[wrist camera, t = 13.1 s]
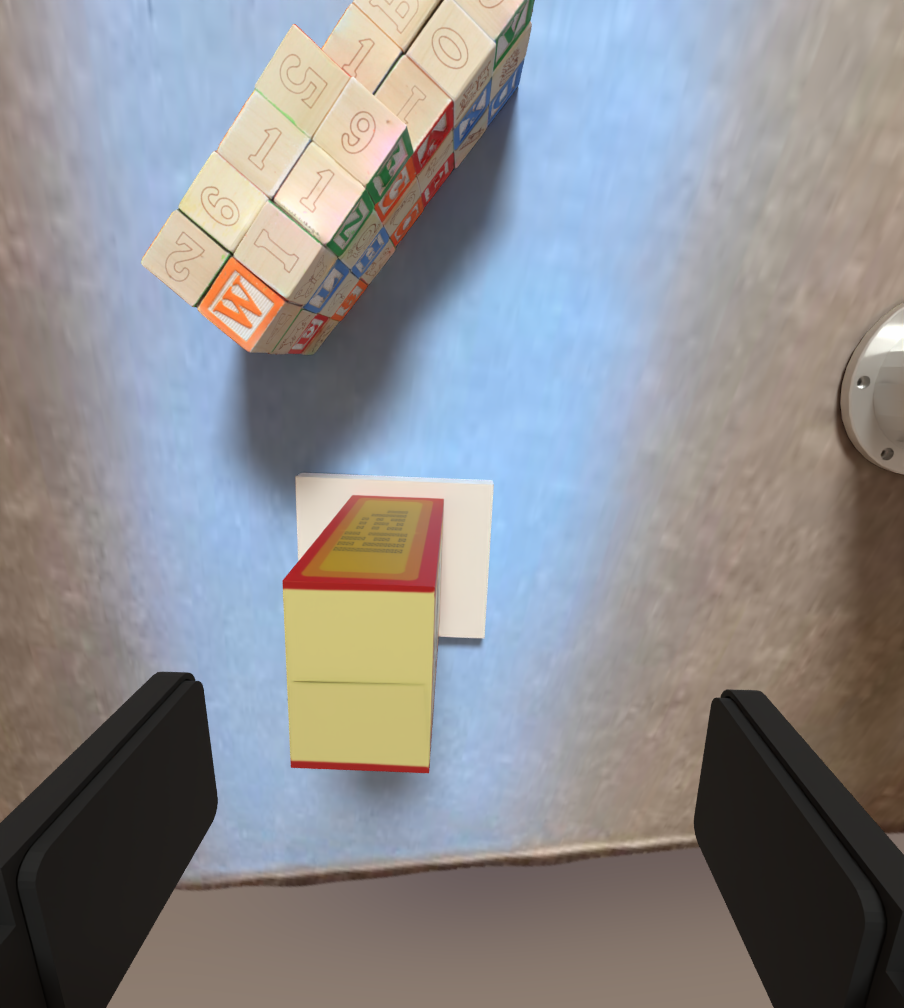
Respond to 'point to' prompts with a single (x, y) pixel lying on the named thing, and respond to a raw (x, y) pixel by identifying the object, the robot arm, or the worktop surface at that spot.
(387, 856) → the worktop surface
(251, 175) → the stack of blocks
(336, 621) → the baking soda box
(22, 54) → the worktop surface
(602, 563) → the worktop surface
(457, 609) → the cutting board
